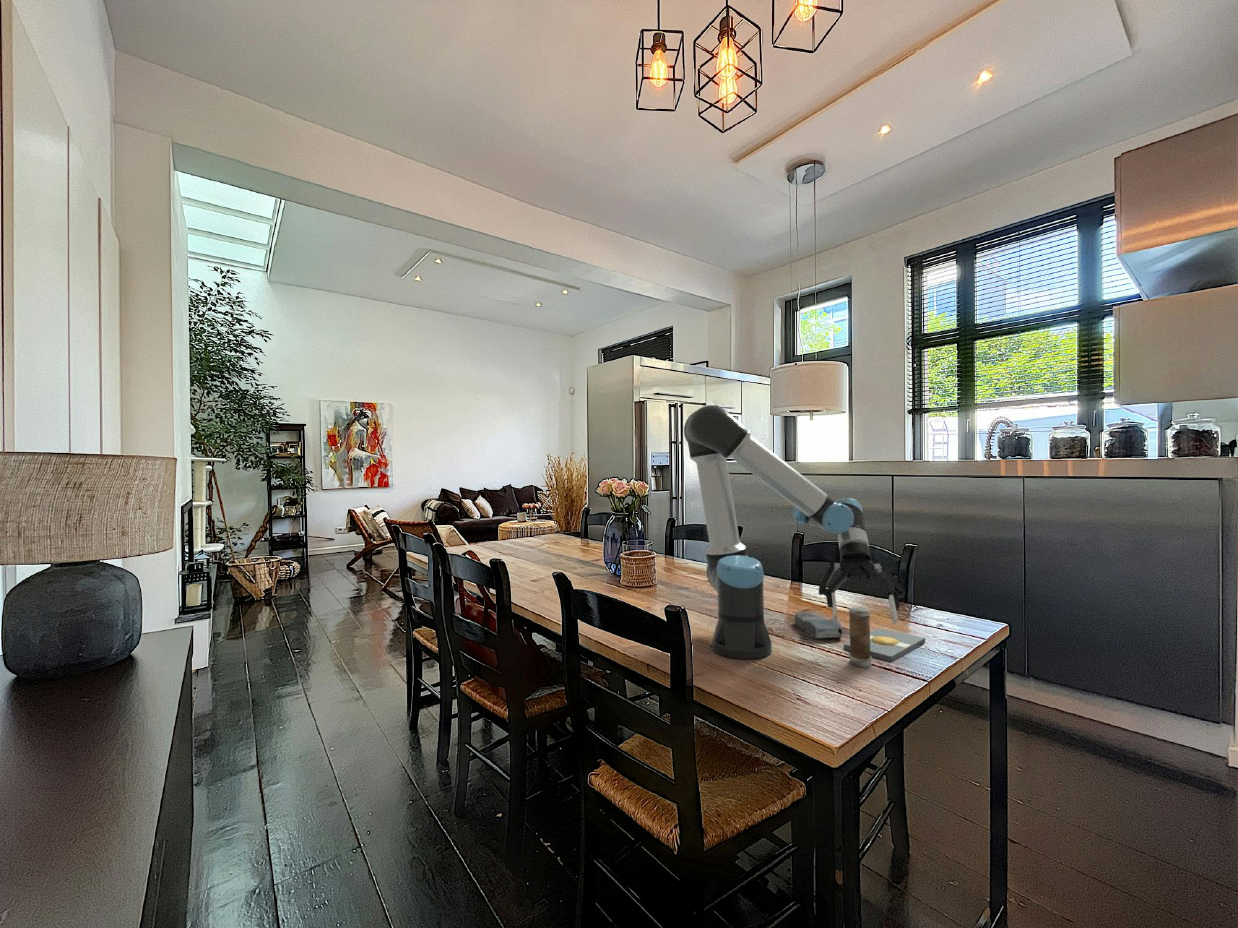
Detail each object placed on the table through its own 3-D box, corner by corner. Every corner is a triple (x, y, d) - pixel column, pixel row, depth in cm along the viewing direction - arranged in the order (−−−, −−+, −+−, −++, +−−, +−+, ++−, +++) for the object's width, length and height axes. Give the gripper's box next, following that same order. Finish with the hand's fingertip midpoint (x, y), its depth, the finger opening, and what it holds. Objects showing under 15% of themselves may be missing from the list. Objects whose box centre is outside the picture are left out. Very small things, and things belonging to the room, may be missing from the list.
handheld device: (815, 619, 165) (814, 604, 165) (847, 641, 145) (847, 624, 145) (784, 621, 164) (784, 605, 164) (813, 643, 144) (812, 625, 144)
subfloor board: (891, 661, 129) (891, 655, 129) (843, 648, 138) (843, 643, 138) (925, 642, 142) (925, 637, 142) (879, 632, 151) (879, 627, 151)
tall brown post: (850, 666, 126) (849, 611, 126) (848, 659, 131) (847, 606, 131) (873, 668, 125) (872, 612, 125) (869, 661, 129) (868, 607, 129)
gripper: (902, 557, 145) (918, 630, 131) (805, 555, 152) (810, 624, 138) (906, 540, 140) (924, 614, 126) (806, 539, 147) (812, 609, 133)
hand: (865, 620), depth 132 cm, fingers open, 13 cm apart
